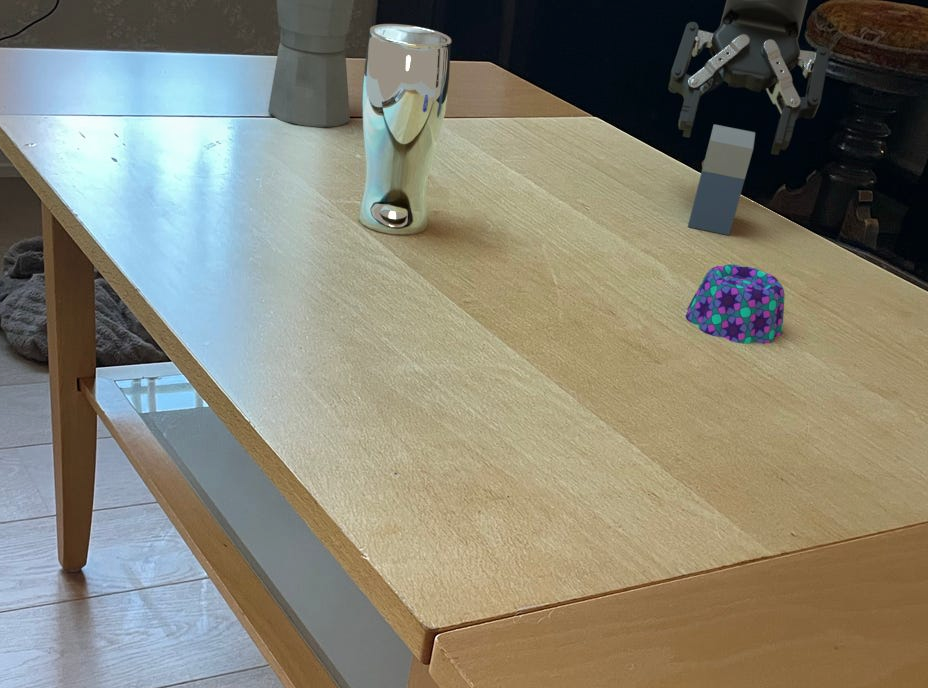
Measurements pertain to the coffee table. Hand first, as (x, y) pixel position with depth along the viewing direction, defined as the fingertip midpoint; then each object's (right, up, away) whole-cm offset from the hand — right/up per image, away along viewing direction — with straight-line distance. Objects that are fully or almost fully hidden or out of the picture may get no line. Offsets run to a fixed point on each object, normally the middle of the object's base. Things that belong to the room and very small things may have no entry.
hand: (731, 141), depth 110 cm
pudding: (-5, -24, -20) cm, 32 cm away
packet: (-1, -7, +3) cm, 7 cm away
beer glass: (-32, -11, -8) cm, 35 cm away
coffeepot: (-42, +9, +15) cm, 46 cm away
